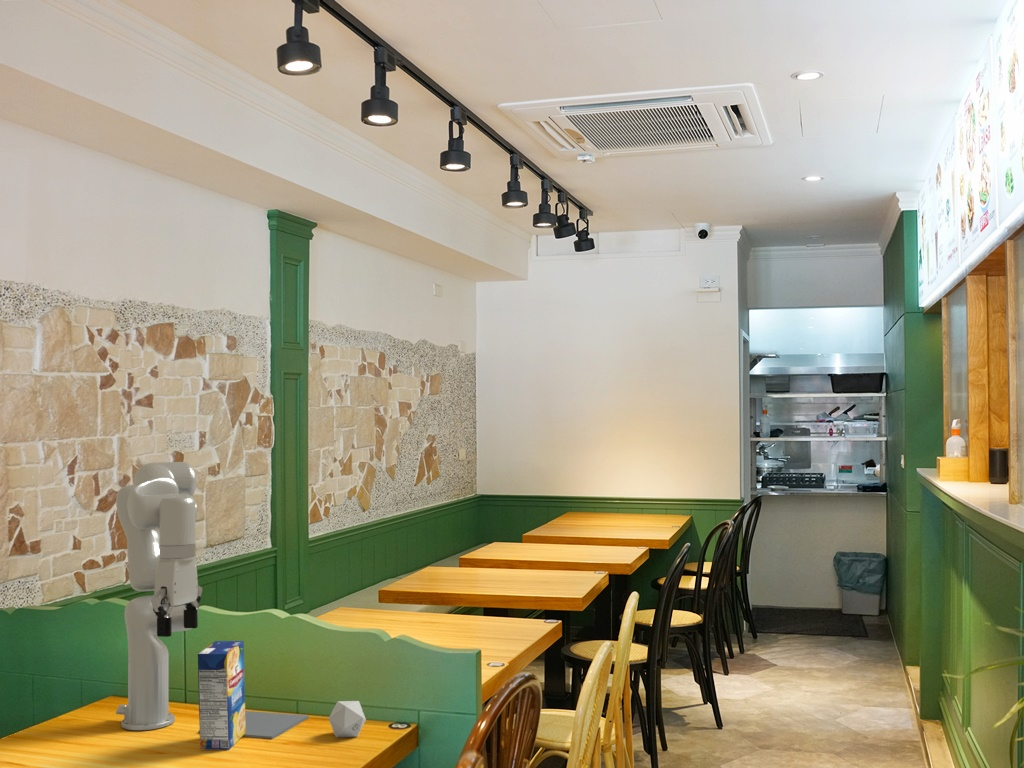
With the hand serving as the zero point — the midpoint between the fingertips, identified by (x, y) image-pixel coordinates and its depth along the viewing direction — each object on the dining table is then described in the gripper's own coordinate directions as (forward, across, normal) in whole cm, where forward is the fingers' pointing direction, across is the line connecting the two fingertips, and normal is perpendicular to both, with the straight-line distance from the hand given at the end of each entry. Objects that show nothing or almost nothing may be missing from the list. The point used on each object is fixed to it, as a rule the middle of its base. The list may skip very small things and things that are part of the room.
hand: (177, 632), depth 217 cm
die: (+29, -30, +26) cm, 49 cm away
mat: (+29, -32, 0) cm, 43 cm away
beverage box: (+29, -18, 0) cm, 34 cm away
